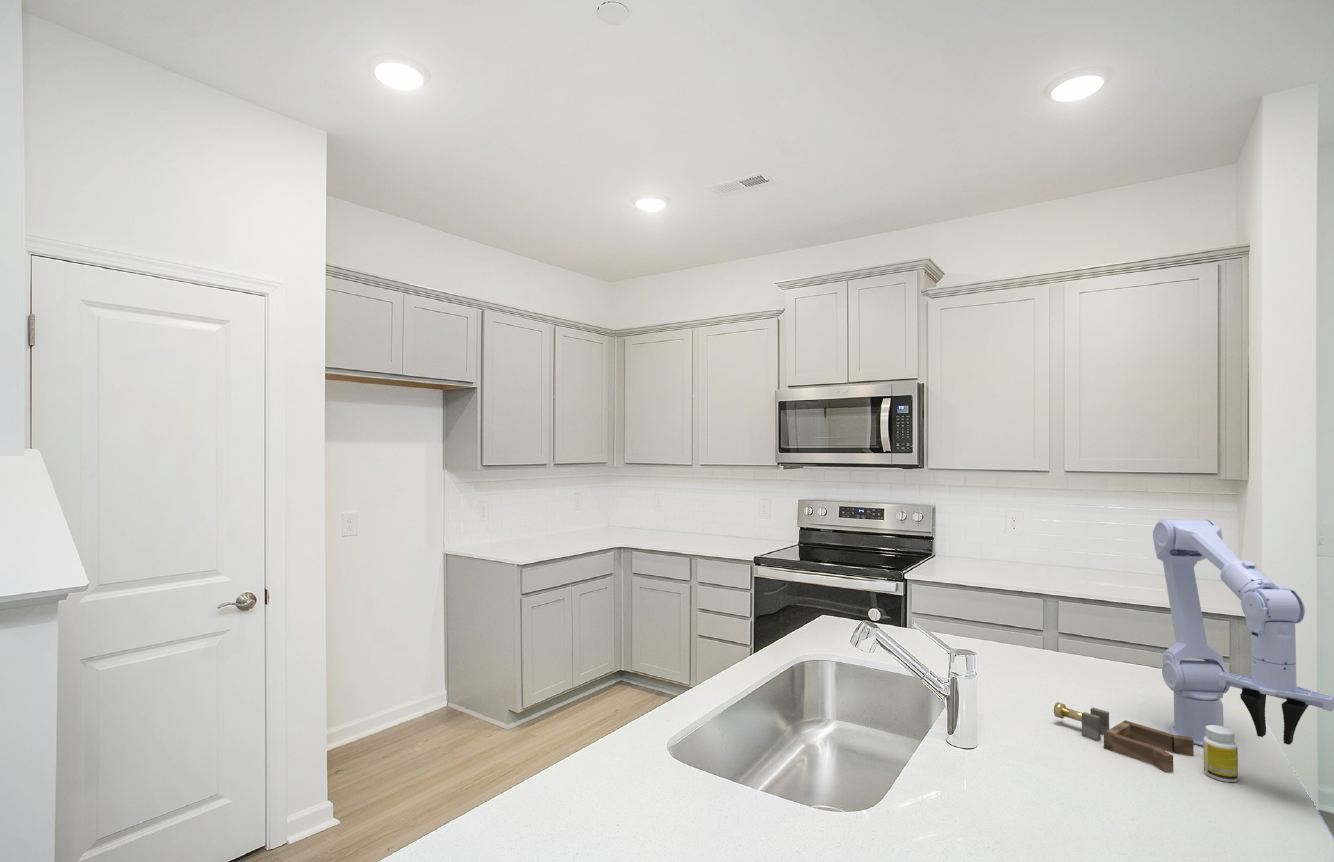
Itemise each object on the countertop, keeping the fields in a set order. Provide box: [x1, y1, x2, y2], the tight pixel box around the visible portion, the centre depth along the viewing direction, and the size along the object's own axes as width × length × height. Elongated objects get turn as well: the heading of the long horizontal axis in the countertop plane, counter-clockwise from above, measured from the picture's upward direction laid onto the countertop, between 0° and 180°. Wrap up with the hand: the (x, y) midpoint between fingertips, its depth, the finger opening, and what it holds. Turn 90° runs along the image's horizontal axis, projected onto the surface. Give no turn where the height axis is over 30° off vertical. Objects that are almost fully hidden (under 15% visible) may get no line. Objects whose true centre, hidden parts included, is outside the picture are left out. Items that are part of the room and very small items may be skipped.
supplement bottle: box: [1203, 725, 1239, 783], centre depth 120 cm, size 5×5×8 cm
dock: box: [1081, 707, 1195, 773], centre depth 131 cm, size 13×16×5 cm
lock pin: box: [1053, 702, 1083, 723], centre depth 140 cm, size 3×7×3 cm, turn 35°
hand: (1274, 739), depth 114 cm, fingers open, 3 cm apart
